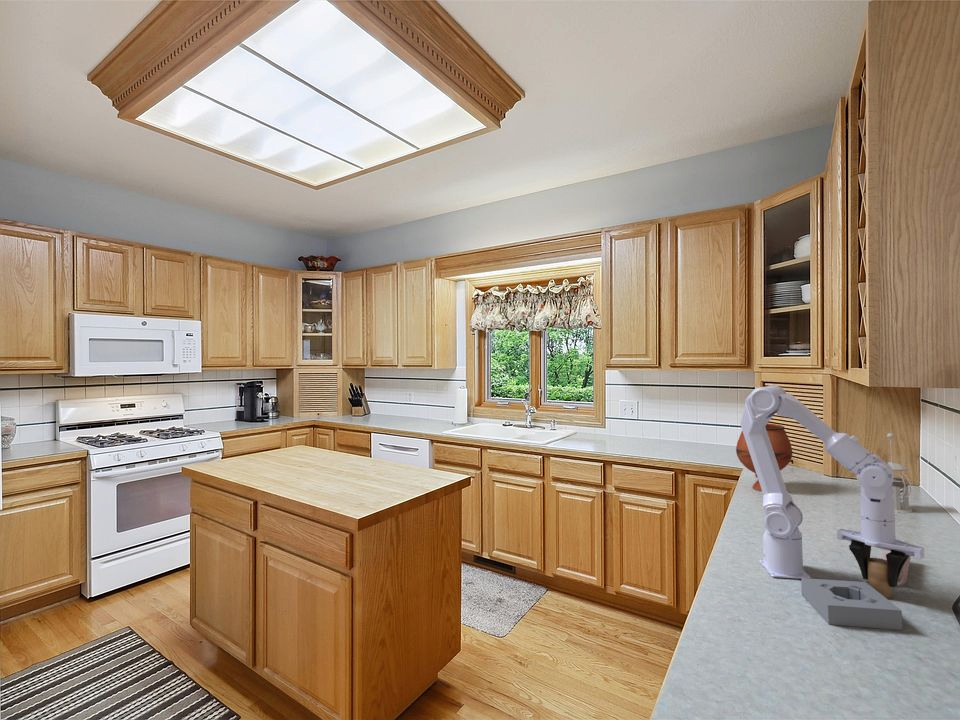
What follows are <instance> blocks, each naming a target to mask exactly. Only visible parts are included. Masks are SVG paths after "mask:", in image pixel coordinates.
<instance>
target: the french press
mask: <svg viewBox="0 0 960 720" xmlns="http://www.w3.org/2000/svg"><path fill="white" fill-rule="evenodd" d="M886 437H887V438H888V437H889V439H890V441H889V443H890V461H889V462H887V461H886V462H887V463H888V464H889V465H890V466H891V468H892V469H893V472H906V471H908V469H909V468H908V467H907V466H905V465H903V464H901V463H897V462H893V452H892V451H893V450H892V448H893V447H892V438H895V434H894V433H893V432H888V434H886ZM905 477H906V478H907V480H908V483H909V485H908V484H906V483H907V480H906V479H904V478H905ZM892 489H893V495H892V496H893V498H894V509H895V512H900V513H899V514H910V513H909V512H912V510H913V509H912V508H911V507H909V506H910V505H909V504H910V501H909V499H910V498H909V496H910V495H911V492H912V482H911V480H910V479H909V477H908V475H906V474H905V473H904V474H903V475H901V474H899V473H897V477H894V478H893V483H892ZM901 489H902V490H901ZM901 493H902V494H901ZM901 497H902V498H901ZM912 513H913V512H912Z"/></svg>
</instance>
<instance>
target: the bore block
mask: <svg viewBox="0 0 960 720" xmlns="http://www.w3.org/2000/svg"><path fill="white" fill-rule="evenodd" d="M800 581H801V582H800V584H801V596H802V597H803V598H804V599H805V600H806V601H807V602H808V603H809V605H810V606H811V607H812V608H813V609H814V610H815V611H816V612H817V613H818V615H819V616H821V617H822V619H824V621H825V622H826V623H827V624H828V625H834V626H848V627H860V628H874V629H881V630H882V629H884V630H885V629H886V630H896V631H903V617H902V616H903V615H902V614H903V613H902V612H903V611H902V609H900V608H899V607H898V606H896V605H895V604H894V603H893V602H891V601H890V599H886V598H885V597H884V596H883V595H881V594H880V593H879V592H878V591H876V590H875V589H874V588H873V587H871V586H870V585H869V584H868V582H866V581H854V580H840V579H839V580H838V579H837V580H836V579H824V578H823V579H822V578H820V579H819V578H811V579H808V578H801V580H800Z"/></svg>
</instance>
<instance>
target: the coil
mask: <svg viewBox="0 0 960 720" xmlns="http://www.w3.org/2000/svg"><path fill="white" fill-rule="evenodd" d="M889 552H891V551H889V550H885V552H884V554H883V557H882V559H884V560H887V558H886V554H888V553H889ZM911 557H912V556H909V558H908V559H907V560H906V562H905V564H904V565H903V567H902V570H901V572H900V575H899V578H898V583H897V586H896V587H902V586H904V585H905V584H906V582H907V580H908V574H909V573H908V572H909V568H910V562H911Z"/></svg>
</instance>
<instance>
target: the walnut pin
mask: <svg viewBox="0 0 960 720" xmlns="http://www.w3.org/2000/svg"><path fill="white" fill-rule="evenodd" d="M867 573H868V579H867V584H869V585H870V586H871V587H873V588H874V589H875V590H876V591H878V592H879V593H880V594H881V595H883V596H884V597H885V598H886V599H888V600H890V599H893V596H894V595H893V587H889V569H888V563H887V560H884V559H883V558H880V557H879V558H878V557H870V558H867Z"/></svg>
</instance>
